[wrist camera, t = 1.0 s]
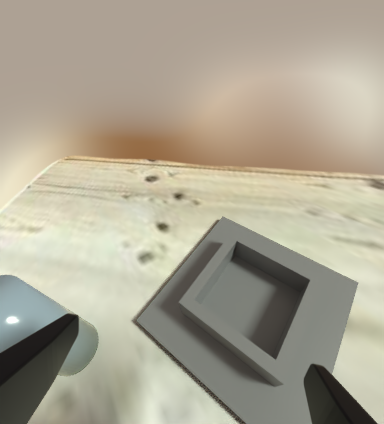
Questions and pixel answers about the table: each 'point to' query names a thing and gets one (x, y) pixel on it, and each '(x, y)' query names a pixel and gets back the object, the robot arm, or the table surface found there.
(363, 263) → the table surface
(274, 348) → the grey square socket base
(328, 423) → the robot arm
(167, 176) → the table surface
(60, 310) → the pale blue rounded cylinder
